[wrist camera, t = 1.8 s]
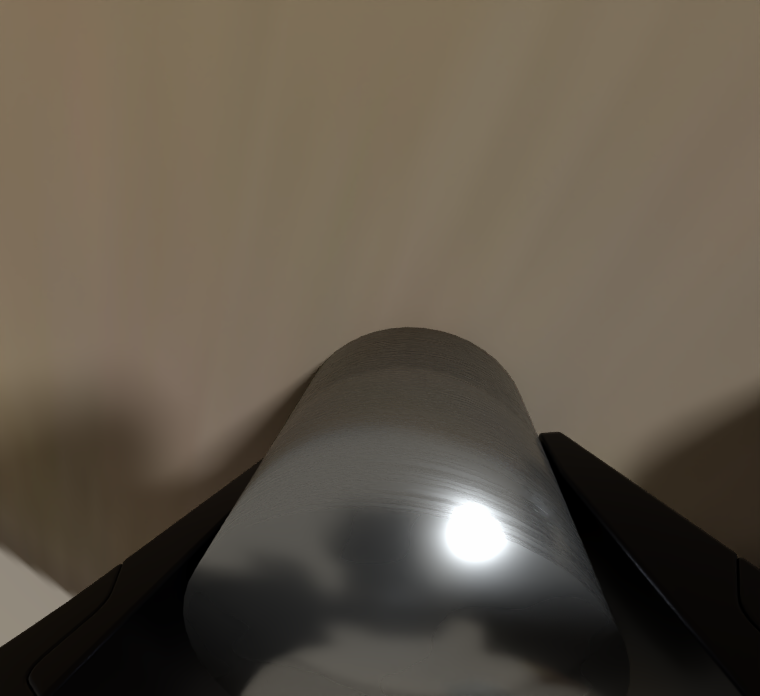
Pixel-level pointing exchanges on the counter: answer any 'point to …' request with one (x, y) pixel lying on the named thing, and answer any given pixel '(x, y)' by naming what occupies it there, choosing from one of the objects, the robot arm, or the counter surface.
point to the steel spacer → (404, 543)
